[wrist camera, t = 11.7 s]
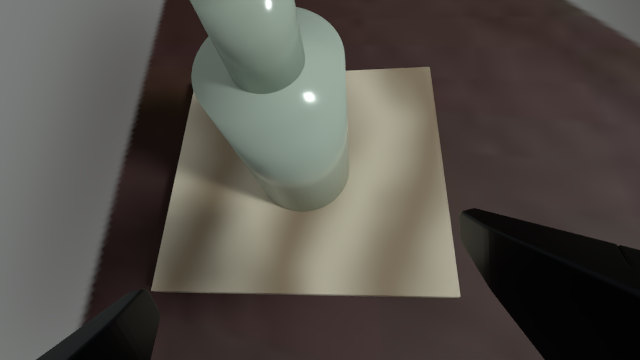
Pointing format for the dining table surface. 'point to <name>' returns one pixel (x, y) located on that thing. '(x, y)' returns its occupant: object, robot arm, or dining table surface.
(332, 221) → the birch board
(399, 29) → the dining table surface
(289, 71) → the oil bottle
